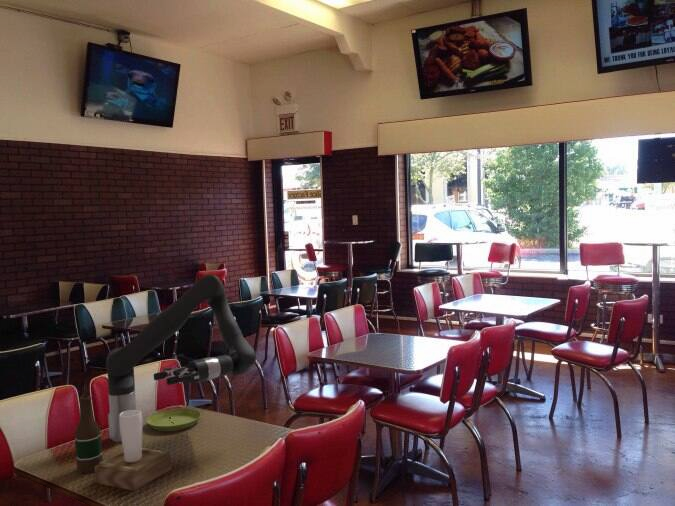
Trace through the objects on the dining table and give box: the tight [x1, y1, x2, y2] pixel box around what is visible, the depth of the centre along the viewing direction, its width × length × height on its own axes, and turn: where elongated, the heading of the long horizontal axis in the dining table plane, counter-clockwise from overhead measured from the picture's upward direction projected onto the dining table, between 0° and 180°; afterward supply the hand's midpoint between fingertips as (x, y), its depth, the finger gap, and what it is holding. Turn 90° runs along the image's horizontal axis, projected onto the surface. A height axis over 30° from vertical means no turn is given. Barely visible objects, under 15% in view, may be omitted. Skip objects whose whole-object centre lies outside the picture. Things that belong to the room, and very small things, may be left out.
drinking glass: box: [119, 409, 143, 463], centre depth 186 cm, size 7×7×15 cm
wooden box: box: [94, 447, 172, 492], centre depth 187 cm, size 16×16×6 cm
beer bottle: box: [74, 395, 104, 474], centre depth 193 cm, size 8×8×24 cm
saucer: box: [146, 408, 202, 432], centre depth 233 cm, size 21×21×3 cm
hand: (160, 379), depth 193 cm, fingers open, 8 cm apart
